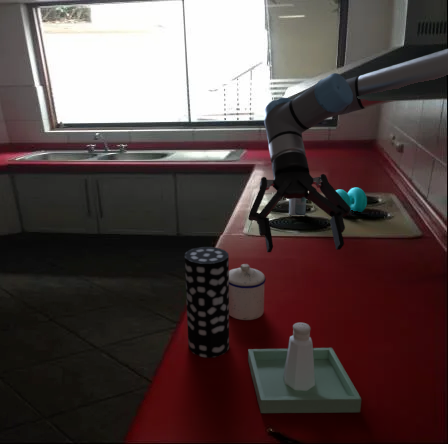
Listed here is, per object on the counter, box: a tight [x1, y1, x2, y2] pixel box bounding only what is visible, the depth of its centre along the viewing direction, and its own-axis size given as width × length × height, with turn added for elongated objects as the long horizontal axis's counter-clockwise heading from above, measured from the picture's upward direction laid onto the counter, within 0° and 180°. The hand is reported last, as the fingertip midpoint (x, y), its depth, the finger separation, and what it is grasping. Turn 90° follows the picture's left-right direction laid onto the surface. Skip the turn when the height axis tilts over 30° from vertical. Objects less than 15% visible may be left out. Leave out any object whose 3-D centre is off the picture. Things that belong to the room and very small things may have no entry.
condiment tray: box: [247, 347, 362, 414], centre depth 73 cm, size 16×14×3 cm
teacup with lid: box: [229, 263, 266, 321], centre depth 96 cm, size 12×9×12 cm
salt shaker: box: [283, 322, 315, 391], centre depth 71 cm, size 5×5×11 cm
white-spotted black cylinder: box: [184, 246, 230, 359], centre depth 82 cm, size 8×8×20 cm
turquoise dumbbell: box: [335, 187, 368, 213], centre depth 161 cm, size 10×10×10 cm
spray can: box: [288, 197, 307, 216], centre depth 161 cm, size 6×6×20 cm
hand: (305, 248), depth 82 cm, fingers open, 13 cm apart
